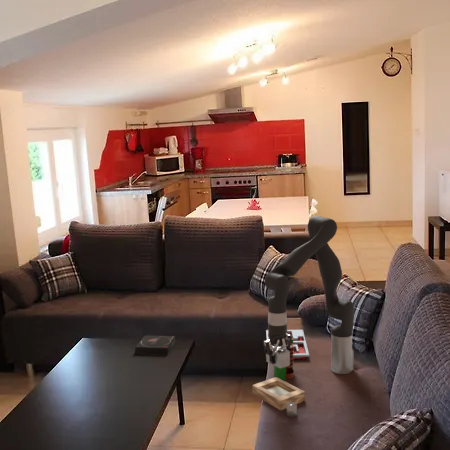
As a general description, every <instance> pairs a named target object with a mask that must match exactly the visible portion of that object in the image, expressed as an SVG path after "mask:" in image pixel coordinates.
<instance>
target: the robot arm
mask: <svg viewBox="0 0 450 450" xmlns="http://www.w3.org/2000/svg"><path fill="white" fill-rule="evenodd" d="M337 230H338V224H337V222H336V220H334V219H332V218H330V217H324V216H320V215H314V216H311V217H310V218H309V220H308V222H307V232H308V236H309V239H310V240H309V241H307V242H305V243H303V244H302V245H300V246H299V247H296V248H295V249H294V250H292V251H291V252H290V253H289V254H288V255H287V256H286V258H285V259H284V260H283V261H282V263H280V264H277V266H275V267H274V268H273V269H272V270H270V271H269V272H268V273H267V274H266V276H265V278H264V286H265V287H266V289H268V290H270V291H273V292H274V295H273V296H270V297H269V298H268V315H267V323H268V324H267V325H268V327H267V330H268V333H269V339H268V340H267V339H266V340H263V341H262V345H263V350H264V353H265V355H266V354H268V355H269V361H270V363H271V365H272V364H275V356H274V355H275V351H276V350H277V347H279V346H280V347H281V348H283V349H286V350H289V349H290V347H291V341H292V335H289V334H286V333H287V330H288V324H287V323H288V317H287V316H288V315H287V300H288V295H289V290H290V287H291V285H290V280H289V277H293V276H295V275H296V274H297V273H298V272H299V271H300V269H301V268H302V267H303V265H305V263H307V261H308V260H309V259H310V258H311V257H312V256H314V254H315V257H316V259H317V260H316V261H317V264H318V269H319V273H320V277H321V280H322V287H323V291H324V296H325V297H324V298H325V303H326V310H327V314H328V315H329V317H330V318H332V319H335V320H339V321H341V323H340V324H338V325H336V324H335V325H333V326H332V327H331V331H330V332H331V334H330V337H331V339H330V341H331V345H330V346H331V347H330V348H331V351H330V352H331V353H330V355H331V356H330V364H331V366H330V368H331V369H330V370H331V372H333V373H335V374H338V375H346V374H350V373H352V371H353V370H354V349H353V330H354V320H355V319H354V318H355V305H354V303H353V301H351V300H347V299H343V298H339V297H338V292H337V288H338V287H339V285H340V283H341V280H342V278H343V270H342V267H341V262H340V260H339V257H338V256H337V254H336V253H335V252H334V251H333V249H332V248H331V246H330V245H329V242H330V241H331V240H332V239H333V238H334V237H335V235H336V233H337ZM287 345H288V346H287ZM273 346H274V347H273ZM272 350H273V351H272ZM270 363H269V364H270Z"/></svg>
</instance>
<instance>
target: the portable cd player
mask: <svg viewBox="0 0 450 450" xmlns="http://www.w3.org/2000/svg"><path fill="white" fill-rule="evenodd" d="M175 344H176V336H175V335H145V334H144V336H143V337H142V338H141V340H139V342H138V343H137V344H136V346H135V348H134V353H135V355H153V356H154V355H158V356H159V355H162V356H168V355H169V354H170V352H171V351H172V349H173V348H174V346H175Z"/></svg>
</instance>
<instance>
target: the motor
mask: <svg viewBox="0 0 450 450" xmlns="http://www.w3.org/2000/svg"><path fill="white" fill-rule="evenodd" d="M287 346H288V345H287ZM279 347H280V346H279ZM293 347H294V345H293V339H292V341H291V347H290V349H289V350H288V351H290V366H287V367H284V368H278V367H276V366H274V365H273V377H274V378H275V377H277V378H279V379H281V380H283V381H287V380H290V379H292V378H294V377H295V370H294V359H293V351H294V349H293Z"/></svg>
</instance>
